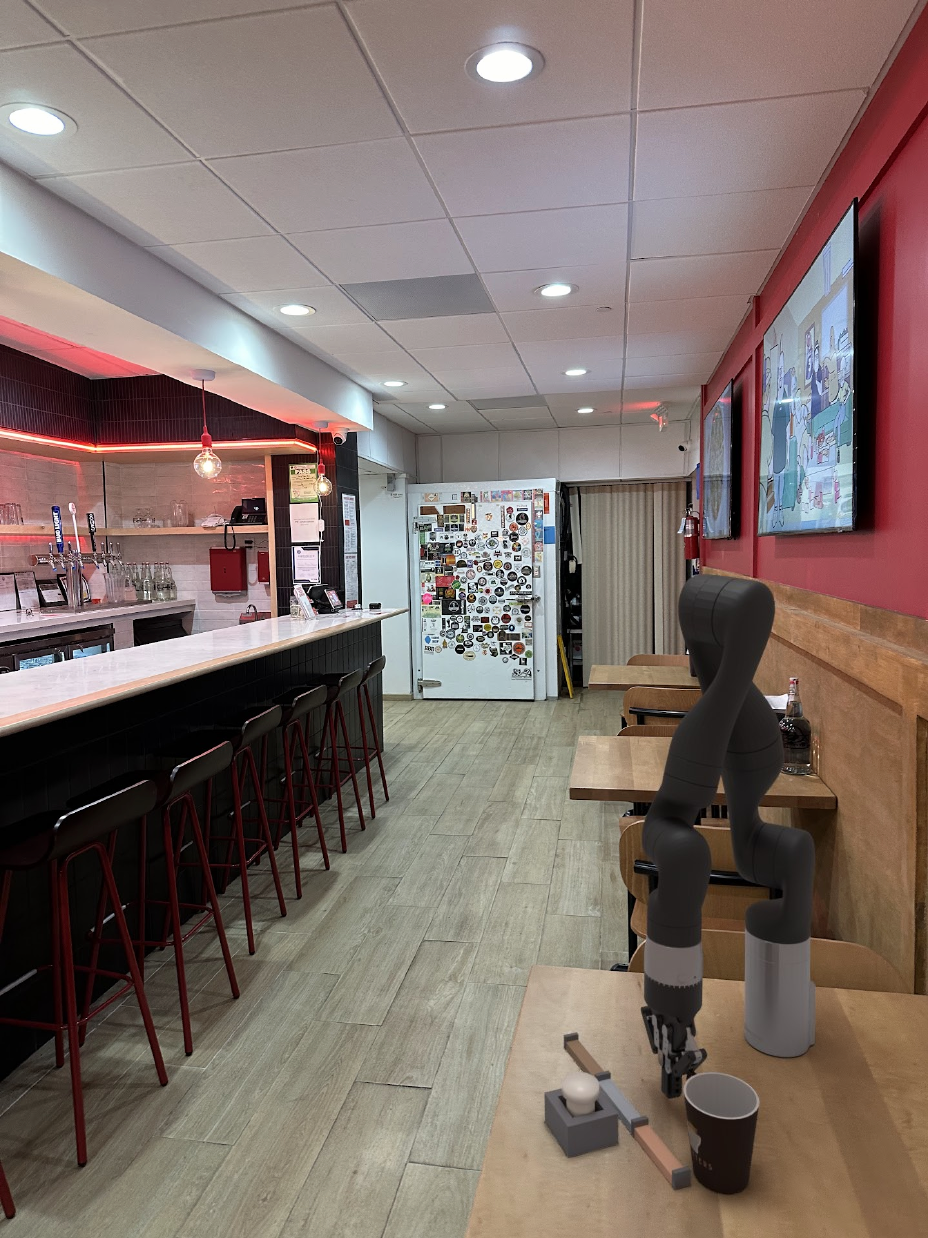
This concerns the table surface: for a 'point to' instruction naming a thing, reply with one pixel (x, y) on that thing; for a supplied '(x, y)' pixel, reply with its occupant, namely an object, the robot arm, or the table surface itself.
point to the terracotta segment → (660, 1153)
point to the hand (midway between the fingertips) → (671, 1094)
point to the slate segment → (616, 1098)
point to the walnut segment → (581, 1054)
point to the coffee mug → (721, 1129)
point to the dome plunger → (580, 1093)
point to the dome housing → (581, 1125)
